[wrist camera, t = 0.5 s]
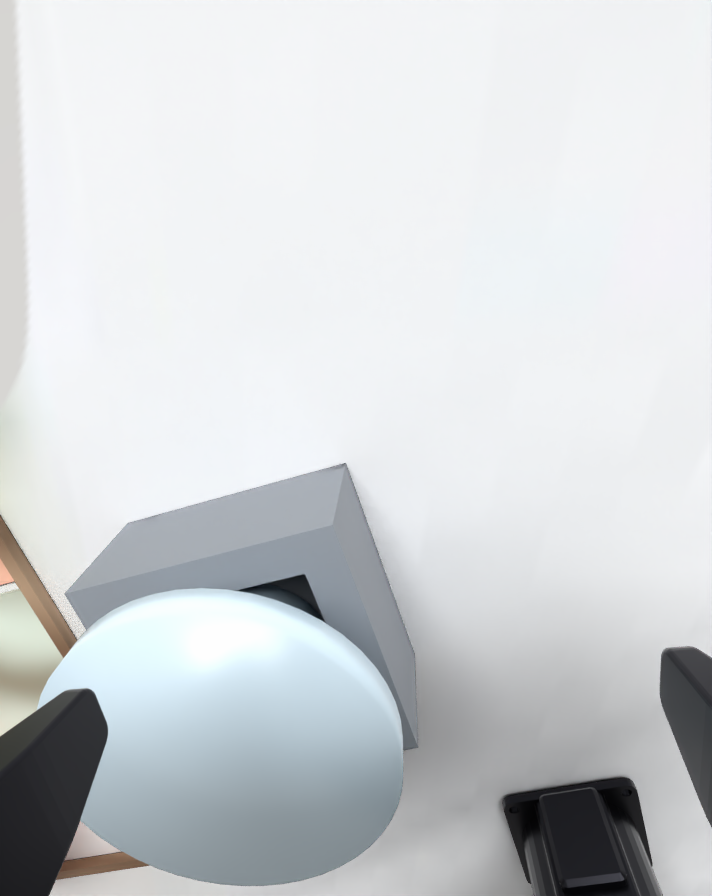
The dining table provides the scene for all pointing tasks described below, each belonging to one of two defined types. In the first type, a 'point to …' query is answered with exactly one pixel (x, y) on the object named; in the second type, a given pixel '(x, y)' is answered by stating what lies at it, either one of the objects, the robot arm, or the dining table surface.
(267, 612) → the pop dome
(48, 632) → the wooden tray
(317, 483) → the gray square block
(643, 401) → the dining table surface
